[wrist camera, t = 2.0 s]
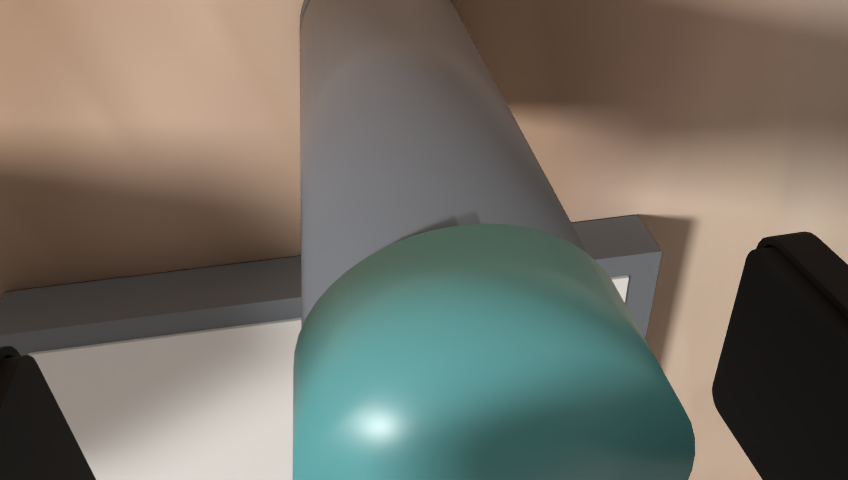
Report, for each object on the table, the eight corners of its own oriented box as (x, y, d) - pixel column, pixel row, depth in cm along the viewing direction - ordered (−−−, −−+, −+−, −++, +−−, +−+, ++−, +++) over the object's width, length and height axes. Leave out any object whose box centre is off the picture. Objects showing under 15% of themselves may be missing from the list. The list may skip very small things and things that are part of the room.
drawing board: (637, 215, 23) (663, 253, 22) (600, 445, 31) (618, 487, 29) (4, 291, 22) (-20, 340, 20) (122, 517, 29) (111, 566, 27)
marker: (455, -62, 18) (733, 325, 6) (458, 95, 20) (661, 573, 9) (283, -48, 17) (256, 390, 6) (308, 111, 20) (322, 630, 8)
